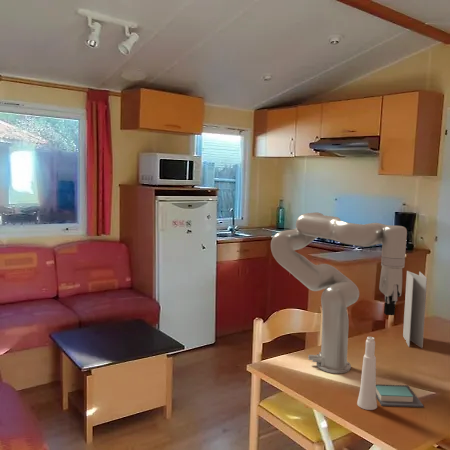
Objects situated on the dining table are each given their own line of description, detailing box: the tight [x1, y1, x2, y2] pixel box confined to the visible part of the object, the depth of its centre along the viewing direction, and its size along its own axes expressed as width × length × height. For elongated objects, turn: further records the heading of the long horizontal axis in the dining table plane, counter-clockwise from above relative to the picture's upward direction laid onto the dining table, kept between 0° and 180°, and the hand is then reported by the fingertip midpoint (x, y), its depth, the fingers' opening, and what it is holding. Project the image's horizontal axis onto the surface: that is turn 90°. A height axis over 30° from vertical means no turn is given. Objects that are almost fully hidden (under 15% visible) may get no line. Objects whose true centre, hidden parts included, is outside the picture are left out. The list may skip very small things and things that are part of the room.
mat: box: [376, 383, 425, 408], centre depth 152 cm, size 13×14×1 cm
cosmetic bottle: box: [356, 336, 378, 411], centre depth 144 cm, size 6×6×22 cm
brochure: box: [402, 270, 428, 349], centre depth 201 cm, size 14×6×30 cm, turn 168°
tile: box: [376, 386, 413, 402], centre depth 150 cm, size 10×2×6 cm
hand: (389, 314), depth 159 cm, fingers closed
